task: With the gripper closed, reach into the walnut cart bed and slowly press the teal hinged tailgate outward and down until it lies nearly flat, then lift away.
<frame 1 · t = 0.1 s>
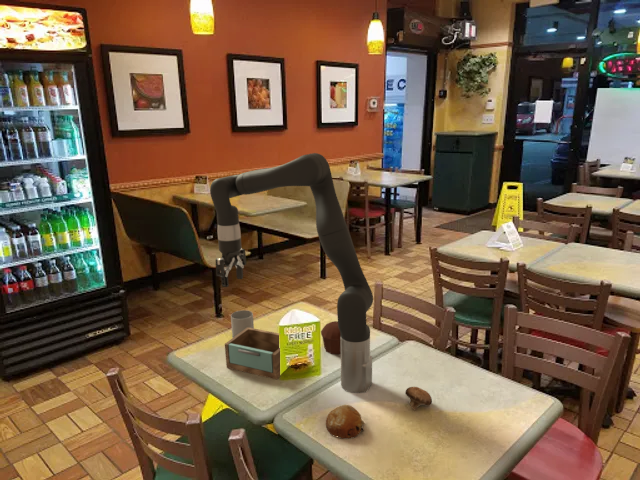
hand: (232, 282, 162), 29 cm above the table, fingers open, 8 cm apart
mushroom: (418, 406, 140), on the table
muffin: (336, 349, 175), on the table
bread roll: (345, 428, 131), on the table
cart bed: (261, 363, 166), on the table
tailgate: (250, 358, 158), point 6 cm above the table, hinge at 0.0°
cup: (243, 338, 185), on the table
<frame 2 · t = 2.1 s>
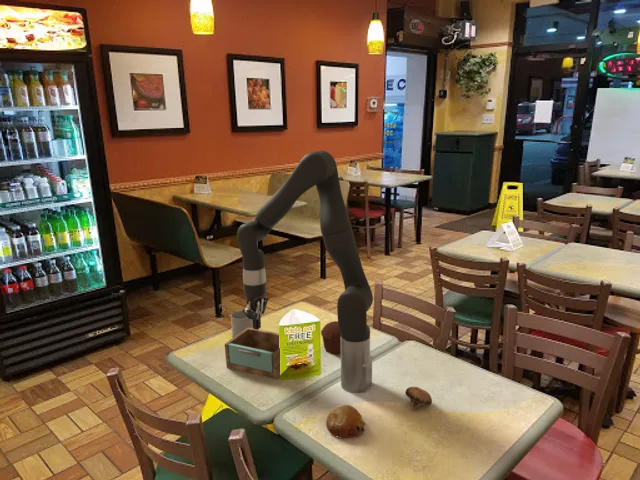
hand: (257, 328, 161), 14 cm above the table, fingers closed
nothing on the table moved.
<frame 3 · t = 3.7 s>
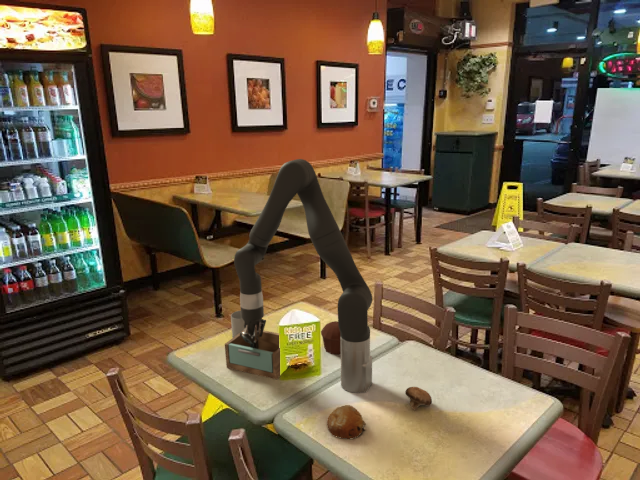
hand: (254, 351, 161), 7 cm above the table, fingers closed
tailgate: (250, 358, 158), point 6 cm above the table, hinge at 0.0°, touching gripper
everything else where it was.
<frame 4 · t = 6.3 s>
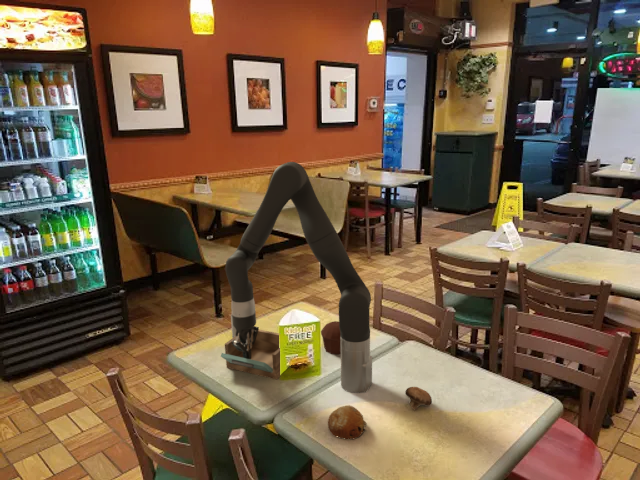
hand: (247, 359, 157), 6 cm above the table, fingers closed
tailgate: (246, 364, 157), point 5 cm above the table, hinge at 44.5°, touching gripper
everything else where it was.
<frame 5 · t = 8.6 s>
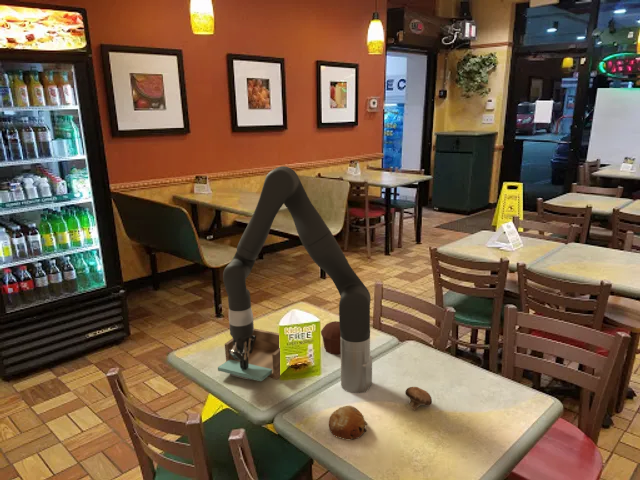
hand: (244, 368, 156), 4 cm above the table, fingers closed
tailgate: (245, 371, 156), point 3 cm above the table, hinge at 84.9°, touching gripper
everything else where it was.
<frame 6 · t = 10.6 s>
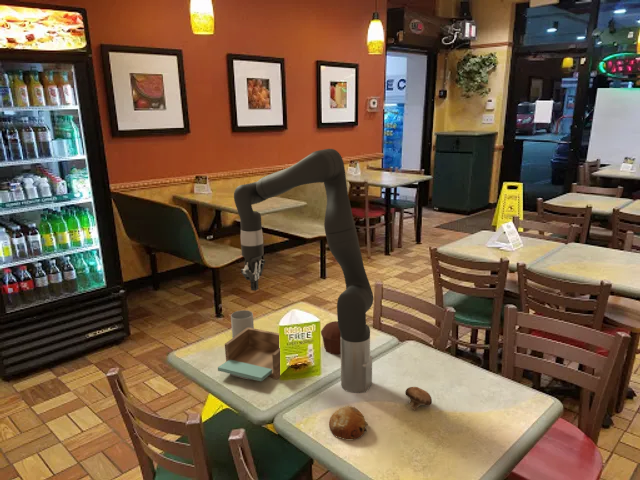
hand: (254, 289, 165), 25 cm above the table, fingers closed
tailgate: (245, 371, 156), point 3 cm above the table, hinge at 84.9°
everything else where it was.
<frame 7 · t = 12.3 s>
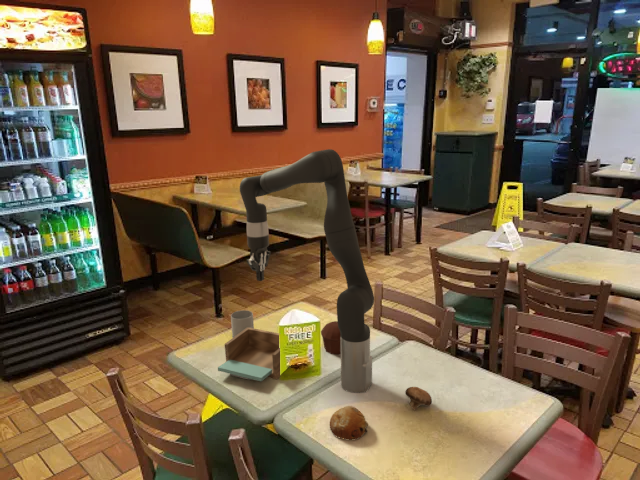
hand: (260, 280, 170), 27 cm above the table, fingers closed
at the end: tailgate at +85° (first picture: +0°); cup moved 0.2 cm from its start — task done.
